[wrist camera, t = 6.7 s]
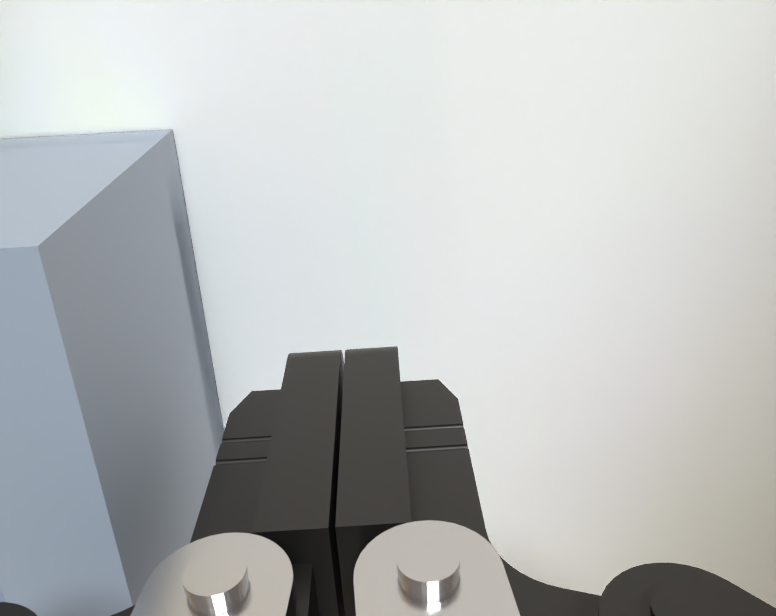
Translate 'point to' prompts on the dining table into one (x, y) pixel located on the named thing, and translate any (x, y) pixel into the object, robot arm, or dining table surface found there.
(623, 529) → the dining table surface
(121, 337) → the socket block
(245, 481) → the robot arm
